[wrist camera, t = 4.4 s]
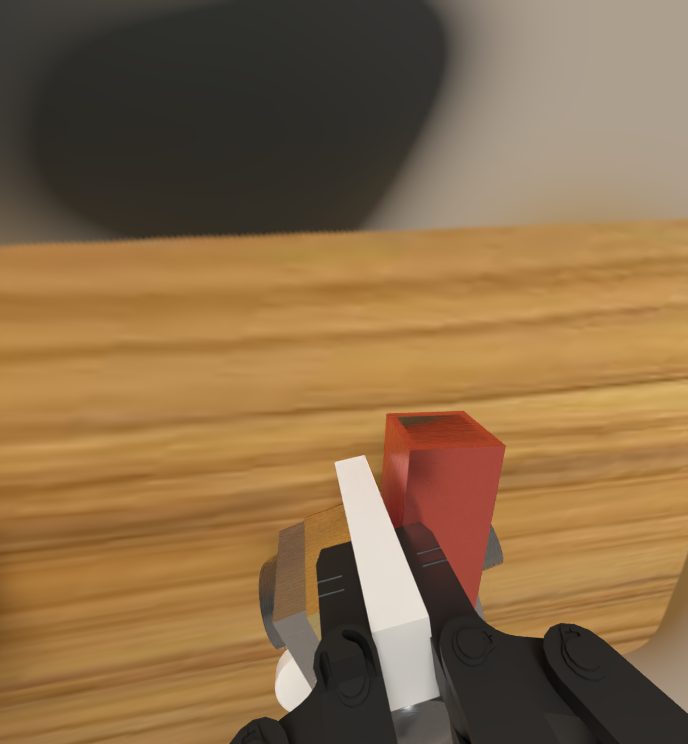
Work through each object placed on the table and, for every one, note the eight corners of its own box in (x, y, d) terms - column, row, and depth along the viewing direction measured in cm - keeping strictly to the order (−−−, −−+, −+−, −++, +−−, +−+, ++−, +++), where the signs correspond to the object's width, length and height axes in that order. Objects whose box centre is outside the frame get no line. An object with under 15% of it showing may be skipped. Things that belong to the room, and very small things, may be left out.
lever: (435, 693, 17) (460, 771, 14) (353, 705, 16) (363, 789, 14) (479, 409, 12) (529, 445, 10) (367, 412, 12) (387, 453, 9)
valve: (293, 601, 25) (291, 748, 17) (258, 535, 23) (236, 669, 15) (471, 533, 25) (547, 646, 18) (453, 462, 23) (530, 556, 15)
